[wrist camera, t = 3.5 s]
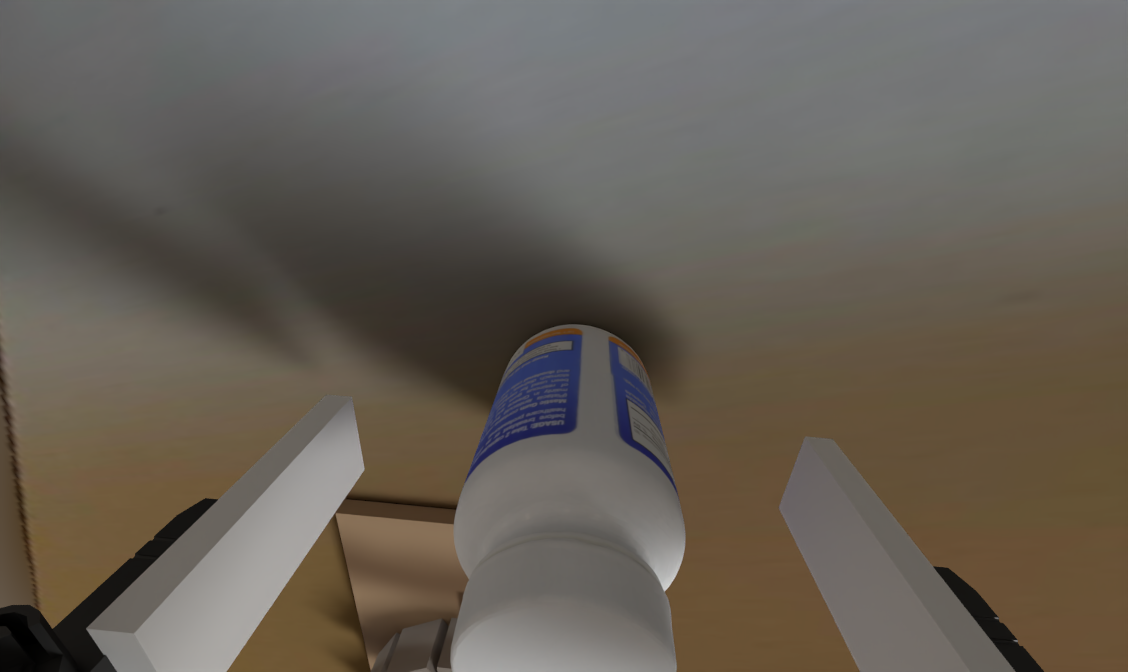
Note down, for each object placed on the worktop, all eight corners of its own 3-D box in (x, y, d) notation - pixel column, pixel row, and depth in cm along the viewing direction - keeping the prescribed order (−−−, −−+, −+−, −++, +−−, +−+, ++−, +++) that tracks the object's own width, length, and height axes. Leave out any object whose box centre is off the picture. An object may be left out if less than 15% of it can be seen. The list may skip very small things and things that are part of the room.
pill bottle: (495, 427, 17) (394, 729, 9) (518, 304, 15) (410, 543, 6) (627, 455, 18) (661, 779, 9) (669, 337, 15) (773, 617, 6)
